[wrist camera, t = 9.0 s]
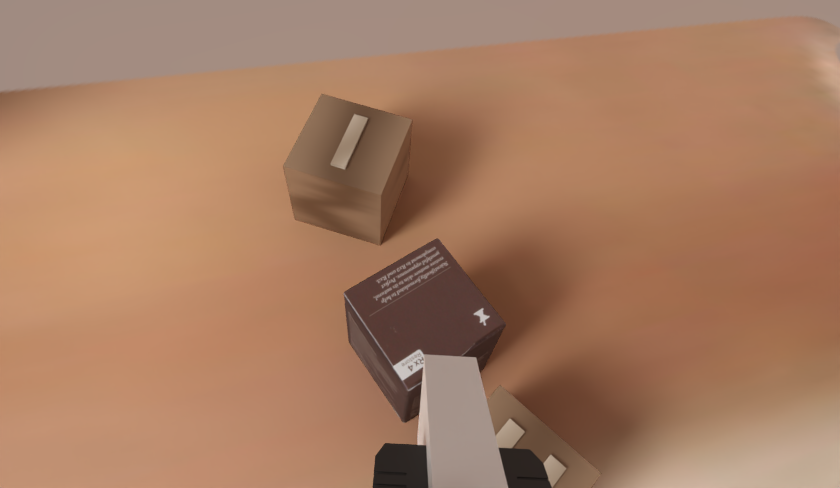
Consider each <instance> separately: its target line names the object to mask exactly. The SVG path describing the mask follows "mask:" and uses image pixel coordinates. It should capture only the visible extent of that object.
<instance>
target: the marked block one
mask: <svg viewBox="0 0 840 488" xmlns="http://www.w3.org/2000/svg"><path fill="white" fill-rule="evenodd" d="M411 131H412V119H409V118H406V117H402V116H399V115H395V114H392V113H388V112H385V111H381V110H377V109H374V108H370V107H367V106H363V105H360V104H356V103H353V102H349V101H346V100H342V99H339V98H335V97H331V96H328V95H324V94H321V96H320V98H319V100H318V102H317V103H316V105H315V107H314V109H313V111H312V113H311V115H310V117H309V118H308V120H307V122H306V124H305V126H304V128H303V130H302V132H301V133H300V135H299V137H298V139H297V141H296V143H295V145H294V147H293V149H292V150H291V152H290V154H289V156H288V158H287V160H286V162H285V164H284V165H283V168H284V173H285V177H286V182H287V186H288V191H289V195H290V200H291V204H292V209H293V213H294V218H295V220H298V221H301V222H304V223H308V224H311V225H314V226H318V227H321V228H324V229H327V230H331V231H334V232H337V233H341V234H344V235H347V236H351V237H354V238H357V239H360V240H364V241H367V242H370V243H374V244H377V245H381V242H382V240H383V237H384V235H385V232H386V229H387V227H388V224H389V222H390V219H391V217H392V214H393V212H394V209H395V207H396V204H397V202H398V199H399V197H400V194H401V192H402V189H403V186H404V184H405V181H406V179H407V176H408V167H409V155H410V143H411Z"/></svg>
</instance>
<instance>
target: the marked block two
mask: <svg viewBox="0 0 840 488" xmlns="http://www.w3.org/2000/svg"><path fill="white" fill-rule="evenodd" d="M487 404H488V408H489V412H490V416H491V420H492V424H493V428H494V432H495V436H496V440H497V444H498V448H516V449H530V450H531V451H532V452H533V453H534V454H535V455H536V456H537V457H538V458H539V459H540V460H541V461H542V462H543V464H544V467H545V470H546V472H547V475H548V480H549V481H550V484H551V487H552V488H592V486H593V485H594V483H595V482H596V480H597V479H598V478H599V476H600V475H601V472H599V471H598V470H597V469H596V468H595V467H594V466H593V465H591V464H590V463H589V462H588V461H587V460H586V459H585V458H583V457H582V456H581V455H580V454H579V453H578V452H576V451H575V450H574V449H573V448H572V447H571V446H570V445H568V444H567V443H566V442H565V441H564V440H563V439H562V438H560V437H559V436H558V435H557V434H556V433H555V432H554V431H552V430H551V429H550V428H549V427H548V426H547V425H546V424H544V423H543V422H542V421H541V420H540V419H539V418H537V417H536V416H535V415H534V414H533V413H532V412H531V411H529V410H528V409H527V408H526V407H525V406H524V405H523V404H521V403H520V402H519V401H518V400H517V399H516V398H515V397H513V396H512V395H511V394H510V393H509V392H508V391H507V390H505V389H504V388H503V387H502V386H501V385H500V386H499V387H498V388H497V389H496V390H495V391H494V393H493V394H492V395H491V396H490V397H489V398H488V400H487Z"/></svg>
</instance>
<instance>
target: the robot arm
mask: <svg viewBox="0 0 840 488" xmlns="http://www.w3.org/2000/svg"><path fill="white" fill-rule="evenodd" d="M417 441H418V445H409V444H390V443H385V444H384V445H383V447H382V448H381V449H380V451H379V452H378V453H377V455H376V456H375V467H374V479H373V488H552V487H551V484H550V481H549V480H548V475H547V472H546V470H545V467H544V464H543V462H542V461H541V460H540V459H539V458H538V457H537V456H536V455H535V454H534V453H533V452H532V451H531V450H530V449H516V448H498V444H497V440H496V436H495V432H494V428H493V424H492V420H491V416H490V412H489V408H488V404H487V400H486V396H485V392H484V388H483V383H482V379H481V375H480V371H479V367H478V363H477V359H476V357H461V356H444V355H427V354H424V364H423V376H422V388H421V400H420V412H419V424H418V436H417Z"/></svg>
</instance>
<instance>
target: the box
mask: <svg viewBox="0 0 840 488" xmlns="http://www.w3.org/2000/svg"><path fill="white" fill-rule="evenodd" d="M344 298H345V308H346V317H347V329H348V338H349V343H350V344H351V346H352V348H353V349H354V350H355V352H356V353H357V355H358V356H359V358H360V359H361V361H362V362H363V364H364V365H365V367H366V368H367V370H368V371H369V373H370V374H371V376H372V377H373V379H374V380H375V382H376V383H377V384H378V386H379V387H380V389H381V390H382V392H383V393H384V395H385V396H386V398H387V399H388V401H389V403H390V404H391V405H392V407H393V409H394V410H395V412H396V413H397V414H398V416H399V418H400V419H401V420H402V421H403V422H407V421H409V420H410V419H411V418H413V417H414V416H416V415H417V414H419V412H420V400H421V388H422V376H423V364H424V354H427V355H444V356H461V357H476V359H477V363H478V367H479V371H481V370H482V369H484V367H485V365H486V362H487V360H488V359H489V357H490V355H491V353H492V351H493V349H494V347H495V345H496V343H497V341H498V339H499V337H500V335H501V333H502V331H503V329H504V327H505V326H506V324H505V322H504V321H503V320H502V318H501V317H500V316H499V315H498V313H497V312H496V311H495V310H494V308H493V307H492V306H491V305H490V303H489V302H488V301H487V300H486V298H485V297H484V296H483V295H482V293H481V292H480V291H479V290H478V288H477V287H476V286H475V285H474V283H473V282H472V281H471V280H470V278H469V277H468V276H467V274H466V273H465V272H464V271H463V269H462V268H461V267H460V265H459V264H458V263H457V262H456V260H455V259H454V258H453V257H452V255H451V254H450V253H449V251H448V250H447V249H446V248H445V246H444V245H443V244H442V243H441V241H440V240H439V239H435V240H433V241H431V242H429V243H428V244H426V245H424V246H423V247H421V248H419V249H417V250H415V251H414V252H412V253H410V254H408V255H407V256H405V257H403V258H402V259H400V260H398V261H396V262H395V263H393V264H391V265H390V266H388V267H386V268H384V269H383V270H381V271H379V272H378V273H376V274H374V275H372V276H371V277H369V278H367V279H366V280H364V281H362V282H360V283H359V284H357V285H355V286H353V287H352V288H350V289H349V290H347V291H345V292H344Z"/></svg>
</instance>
